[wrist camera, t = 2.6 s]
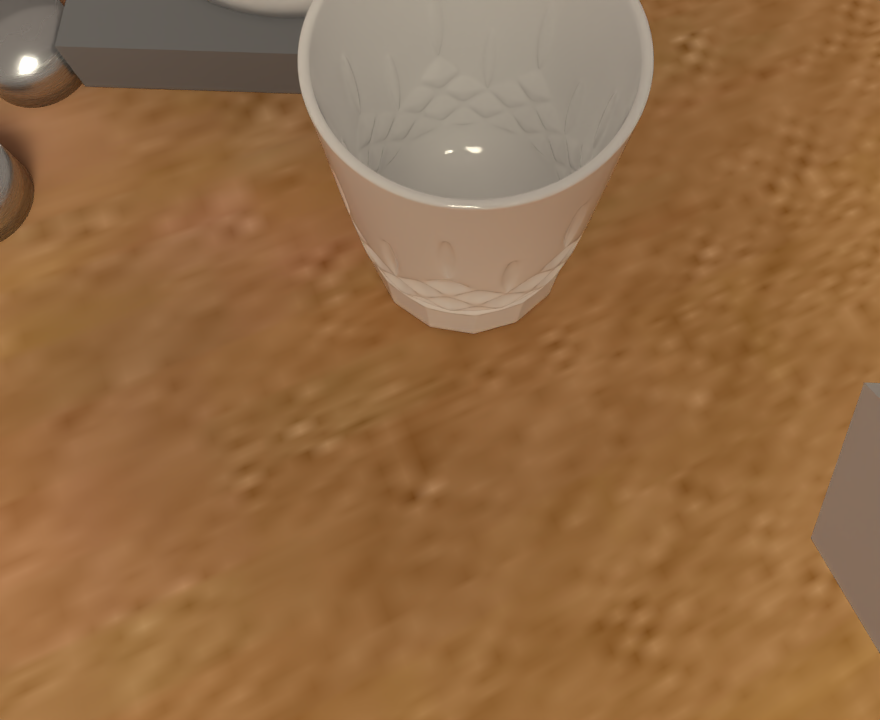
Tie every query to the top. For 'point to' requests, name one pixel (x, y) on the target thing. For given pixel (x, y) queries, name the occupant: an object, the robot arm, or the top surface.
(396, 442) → the top surface
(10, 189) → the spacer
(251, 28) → the scale
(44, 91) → the cylinder
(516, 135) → the white cup
